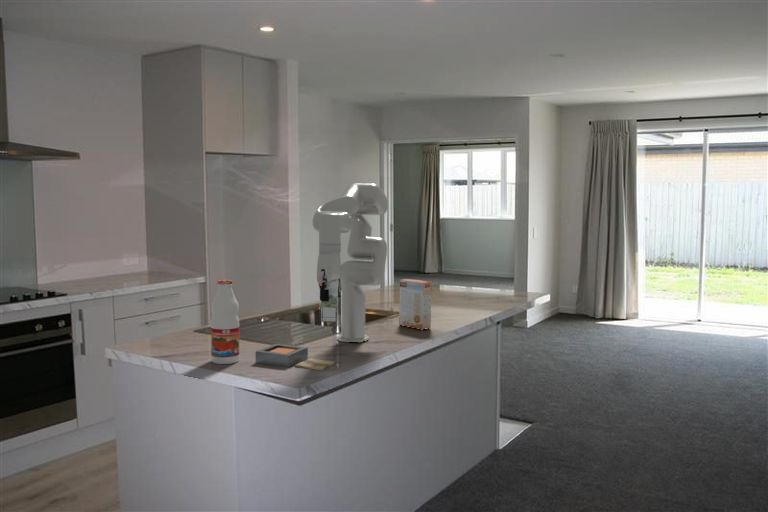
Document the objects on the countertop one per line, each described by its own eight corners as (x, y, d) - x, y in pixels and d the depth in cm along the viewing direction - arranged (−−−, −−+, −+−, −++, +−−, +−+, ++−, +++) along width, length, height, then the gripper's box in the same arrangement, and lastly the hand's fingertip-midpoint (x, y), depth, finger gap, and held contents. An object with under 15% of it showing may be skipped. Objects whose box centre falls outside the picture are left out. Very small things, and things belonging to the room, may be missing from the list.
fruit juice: (239, 357, 231) (239, 278, 229) (239, 364, 222) (238, 281, 219) (212, 358, 229) (211, 278, 227) (210, 365, 220) (209, 282, 218)
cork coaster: (309, 359, 229) (309, 358, 229) (335, 363, 225) (335, 361, 225) (294, 366, 220) (295, 364, 220) (321, 370, 216) (321, 368, 216)
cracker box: (431, 329, 286) (432, 281, 284) (421, 331, 281) (422, 282, 279) (407, 324, 296) (408, 278, 294) (398, 326, 291) (399, 279, 289)
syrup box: (337, 319, 234) (338, 278, 233) (337, 322, 228) (337, 281, 227) (321, 319, 234) (322, 278, 232) (320, 322, 228) (321, 281, 227)
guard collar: (275, 354, 236) (275, 343, 236) (307, 358, 231) (307, 347, 231) (255, 362, 224) (255, 351, 224) (288, 367, 219) (288, 355, 219)
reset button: (278, 350, 232) (278, 347, 232) (296, 352, 229) (296, 349, 229) (267, 354, 225) (267, 351, 225) (285, 356, 223) (285, 354, 223)
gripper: (331, 246, 238) (331, 294, 240) (308, 250, 222) (308, 302, 224) (350, 247, 235) (349, 296, 237) (328, 251, 219) (327, 303, 221)
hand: (329, 298), depth 230 cm, fingers closed on syrup box, 7 cm apart
